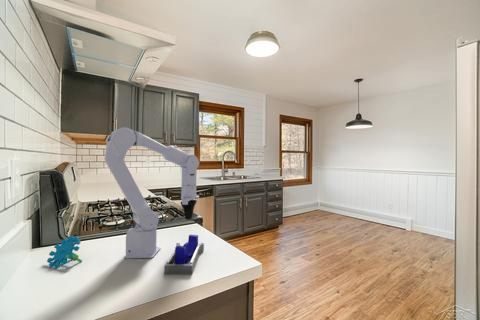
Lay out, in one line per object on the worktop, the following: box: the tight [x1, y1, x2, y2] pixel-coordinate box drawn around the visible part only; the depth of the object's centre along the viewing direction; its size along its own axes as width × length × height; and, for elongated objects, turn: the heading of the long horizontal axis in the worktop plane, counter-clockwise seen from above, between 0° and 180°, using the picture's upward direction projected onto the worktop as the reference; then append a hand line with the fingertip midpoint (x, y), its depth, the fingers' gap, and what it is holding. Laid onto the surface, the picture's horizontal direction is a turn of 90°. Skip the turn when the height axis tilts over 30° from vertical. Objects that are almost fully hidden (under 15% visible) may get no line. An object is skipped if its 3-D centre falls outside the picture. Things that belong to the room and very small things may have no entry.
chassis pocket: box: [163, 242, 205, 275], centre depth 74 cm, size 10×17×3 cm, turn 1°
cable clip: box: [174, 234, 199, 264], centre depth 76 cm, size 12×4×6 cm, turn 170°
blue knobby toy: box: [46, 235, 83, 268], centre depth 72 cm, size 11×6×10 cm
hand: (188, 219), depth 89 cm, fingers closed
